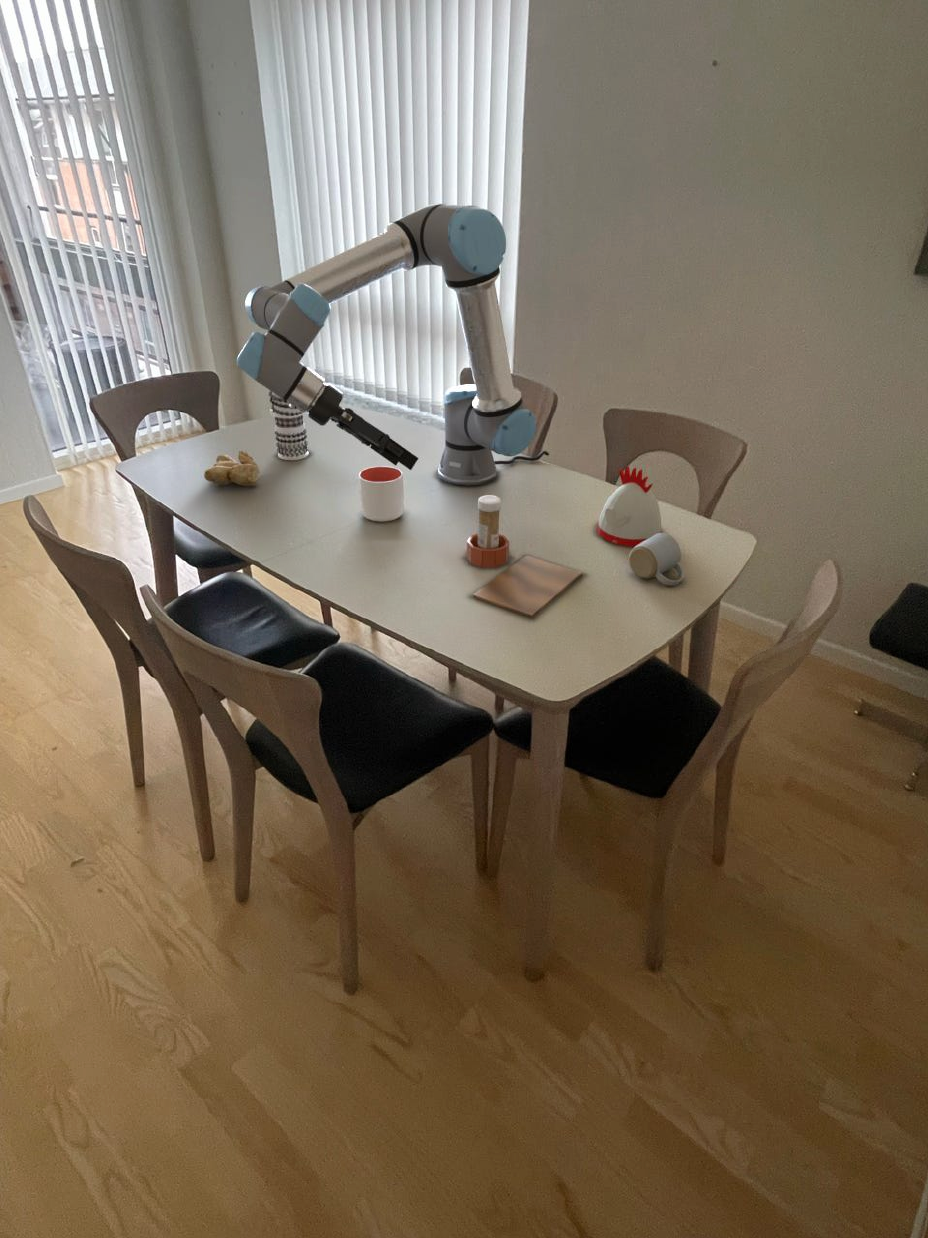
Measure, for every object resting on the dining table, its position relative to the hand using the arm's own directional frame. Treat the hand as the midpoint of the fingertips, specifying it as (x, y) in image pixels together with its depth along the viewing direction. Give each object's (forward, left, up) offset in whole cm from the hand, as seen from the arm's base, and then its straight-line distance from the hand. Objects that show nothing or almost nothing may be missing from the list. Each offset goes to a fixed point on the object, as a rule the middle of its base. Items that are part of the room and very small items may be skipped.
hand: (406, 462), depth 149 cm
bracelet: (-6, +16, -19) cm, 26 cm away
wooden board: (-1, +29, -19) cm, 35 cm away
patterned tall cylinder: (-26, -62, -19) cm, 69 cm away
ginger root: (-3, -59, -19) cm, 62 cm away
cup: (-10, -16, -19) cm, 27 cm away
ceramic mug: (-20, +48, -19) cm, 56 cm away
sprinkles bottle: (-6, +16, -19) cm, 26 cm away
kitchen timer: (-35, +35, -19) cm, 53 cm away
